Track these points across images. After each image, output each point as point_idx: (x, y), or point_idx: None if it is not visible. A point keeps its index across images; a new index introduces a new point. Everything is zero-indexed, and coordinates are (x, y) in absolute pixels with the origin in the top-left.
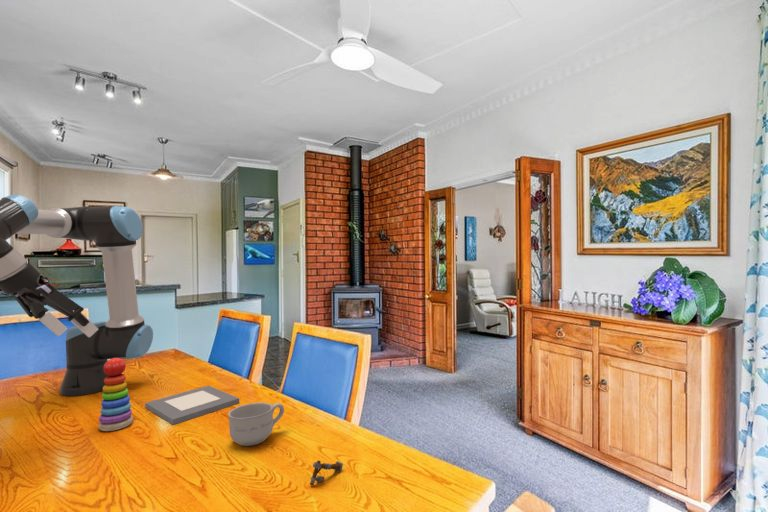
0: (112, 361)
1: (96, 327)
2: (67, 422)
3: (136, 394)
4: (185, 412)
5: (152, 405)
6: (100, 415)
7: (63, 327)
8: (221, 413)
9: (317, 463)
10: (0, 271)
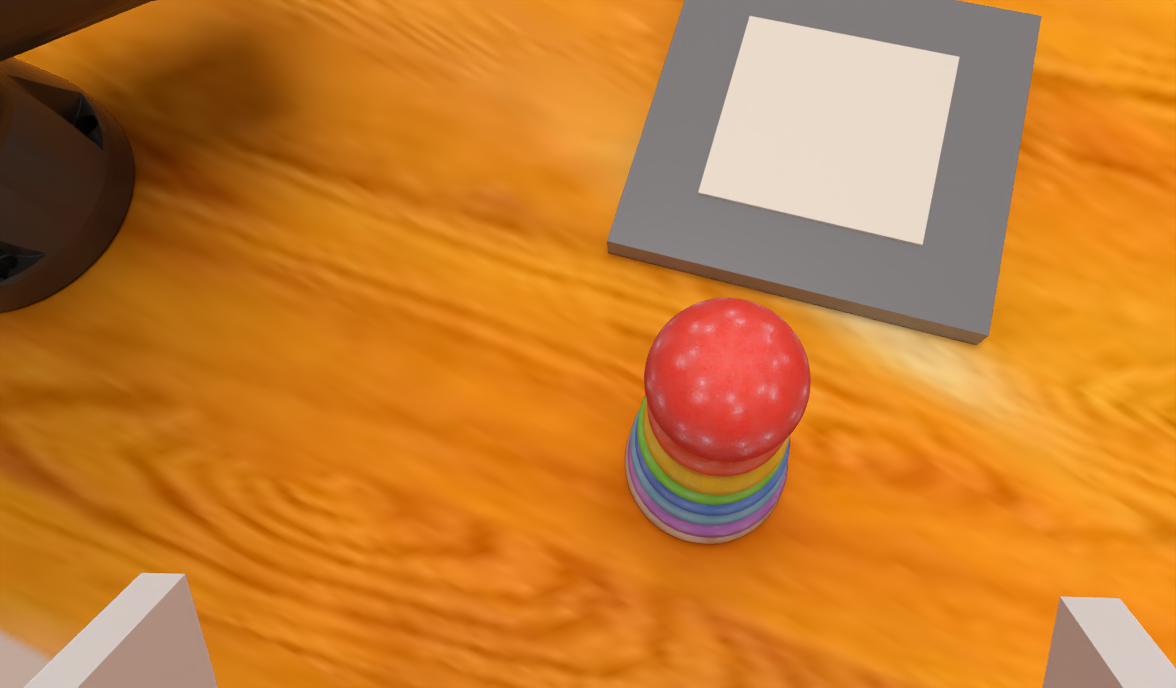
0: (768, 401)
1: (1148, 640)
2: (396, 534)
3: (374, 151)
4: (956, 247)
5: (684, 250)
6: (662, 512)
7: (150, 644)
8: (1069, 156)
9: None
10: None
